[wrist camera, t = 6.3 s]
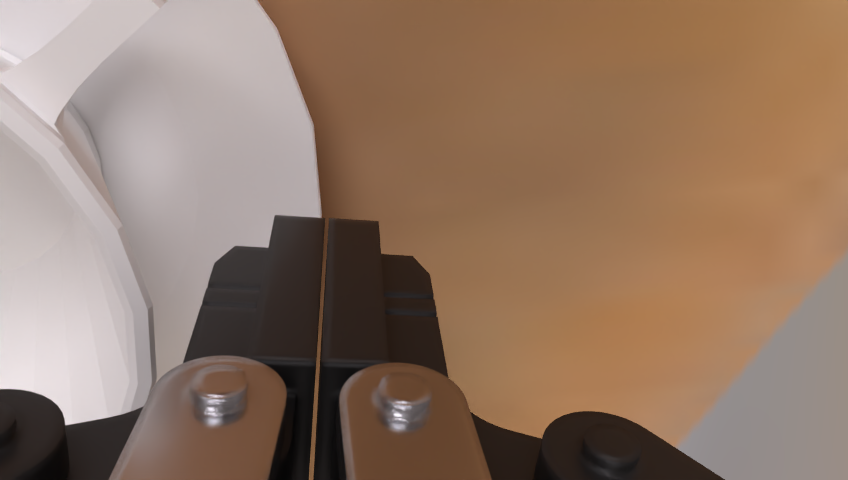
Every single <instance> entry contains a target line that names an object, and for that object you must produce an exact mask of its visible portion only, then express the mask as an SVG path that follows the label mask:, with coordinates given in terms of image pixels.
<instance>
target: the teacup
mask: <svg viewBox="0 0 848 480" xmlns="http://www.w3.org/2000/svg"><path fill="white" fill-rule="evenodd" d="M275 215H286V216H301V217H317V218H321V216H322V210H321V199H320V188H319V177H318V166H317V155H316V143H315V132H314V124H313V121H312V119H311V116H310V114H309V111H308V108H307V106H306V103H305V100H304V98H303V95H302V92H301V90H300V87H299V84H298V82H297V79H296V77H295V74H294V71H293V69H292V66H291V63H290V61H289V58H288V55H287V53H286V50H285V47H284V45H283V42H282V40H281V37H280V34H279V32H278V29H277V28H276V26H275V25H274V23H273V22H272V20H271V19H270V18H269V16H268V15H267V13H266V12H265V10H264V9H263V8H262V6H261V5H260V3H259V2H258V0H0V389H17V390H25V391H31V392H35V393H37V394H40V395H43V396H45V397H47V398H49V399H51V400H52V401H53V402H54V403H55V404H57V405H58V407H59V408H60V410H61V411H62V413H63V416H64V419H65V425H70V424H76V423H81V422H87V421H92V420H98V419H103V418H109V417H113V416H117V415H121V414H125V413H128V412H131V411H134V410H136V409H138V408H141V407H143V406H144V405H145V403H146V401H147V399H148V397H149V395H150V392H151V390H152V388H153V387H154V385H155V384H156V382H157V381H158V380H159V379H160V378H161V377H162V376H163V375H164V374H165V373H167V372H168V371H169V370H171V369H173V368H175V367H176V366H178V365H180V364H183V361H184V358H185V355H186V351H187V348H188V345H189V342H190V339H191V336H192V332H193V329H194V326H195V323H196V320H197V317H198V313H199V310H200V307H201V306H202V301H203V298H204V294H205V291H206V288H208V282H209V279H210V275H211V272H212V269H213V266H214V263H215V262H216V261H217V260H218V259H220V258H221V257H222V256H223V255H225V254H226V253H227V252H228V251H229V250H231V249H232V248H233V247H234V246H248V247H265V248H268V247H269V242H270V236H271V231H272V226H273V221H274V217H275Z"/></svg>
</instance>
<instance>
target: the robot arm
mask: <svg viewBox="0 0 848 480" xmlns="http://www.w3.org/2000/svg"><path fill="white" fill-rule="evenodd" d="M324 227H325V218H317V217H301V216H286V215H275V217H274V221H273V226H272V231H271V236H270V242H269V247H268V248H265V247H248V246H234V247H233V248H232V249H231V250H229V251H228V252H227V253H226V254H225V255H223V256H222V257H221V258H220V259H218V260H217V261H216V262H215V263H214V266H213V269H212V272H211V275H210V279H209V282H208V288H206V291H205V294H204V298H203V301H202V306H201V307H200V310H199V313H198V317H197V320H196V323H195V326H194V329H193V332H192V336H191V339H190V342H189V345H188V348H187V351H186V355H185V358H184V361H183V364H180V365H178V366H176V367H175V368H173V369H171V370H169V371H168V372H167V373H165V374H164V375H163V376H162V377H161V378H160V379H159V380H158V381H157V382H156V384H155V385H154V387H153V388H152V390H151V392H150V395H149V397H148V399H147V401H146V403H145V405H144V406H143V407H141V408H138V409H136V410H134V411H131V412H128V413H125V414H121V415H117V416H113V417H109V418H103V419H98V420H92V421H87V422H81V423H76V424H70V425H65V419H64V416H63V413H62V411H61V410H60V408H59V407H58V405H57V404H55V403H54V402H53V401H52V400H51V399H49V398H47V397H45V396H43V395H40V394H37V393H35V392H31V391H25V390H17V389H0V480H309V465H310V450H311V434H312V419H313V403H314V388H315V372H316V357H317V341H318V325H319V309H320V292H321V276H322V260H323V243H324ZM433 296H434V295H433V290H432V284H431V279H430V274H429V273H428V272H427V271H426V270H425V269H424V268H423V267H422V266H421V265H420V264H419V263H418V261H417V260H416V259H415V258H414V257H413V256H404V255H387V254H381V248H380V234H379V222H378V221H366V220H350V219H335V218H329V228H328V243H327V259H326V275H325V290H324V306H323V322H322V339H321V356H320V373H319V391H318V409H317V426H316V444H315V462H314V480H725V479H723V478H721V477H720V476H718V475H716V474H715V473H714V472H712V471H711V470H709V469H707V468H706V467H704V466H703V465H701V464H700V463H698V462H697V461H695V460H693V459H692V458H690V457H689V456H687V455H686V454H684V453H682V452H681V451H679V450H678V449H676V448H675V447H673V446H672V445H670V444H669V443H667V442H666V441H664V440H662V439H661V438H659V437H658V436H656V435H655V434H653V433H652V432H650V431H648V430H647V429H645V428H643V427H642V426H640V425H638V424H636V423H634V422H632V421H630V420H627V419H625V418H622V417H619V416H616V415H612V414H608V413H602V412H593V411H582V412H574V413H570V414H567V415H563V416H561V417H559V418H557V419H556V420H554V421H553V422H552V423H550V425H549V426H548V427H547V428H546V430H545V432H544V434H543V437H542V439H541V438H537V437H533V436H529V435H525V434H522V433H518V432H514V431H510V430H507V429H504V428H501V427H498V426H495V425H493V424H491V423H488V422H486V421H484V420H483V419H481V418H479V417H477V416H476V415H474V414H473V413H471V412H470V410H469V406H468V403H467V400H466V398H465V396H464V394H463V392H462V391H461V389H460V388H459V387H458V386H457V385H456V384H455V383H454V382H453V381H452V380H450V379H449V378H448V373H447V367H446V362H445V356H444V351H443V345H442V340H441V334H440V329H439V323H438V317H436V314H437V312H436V306H435V301H434V299H433Z"/></svg>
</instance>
